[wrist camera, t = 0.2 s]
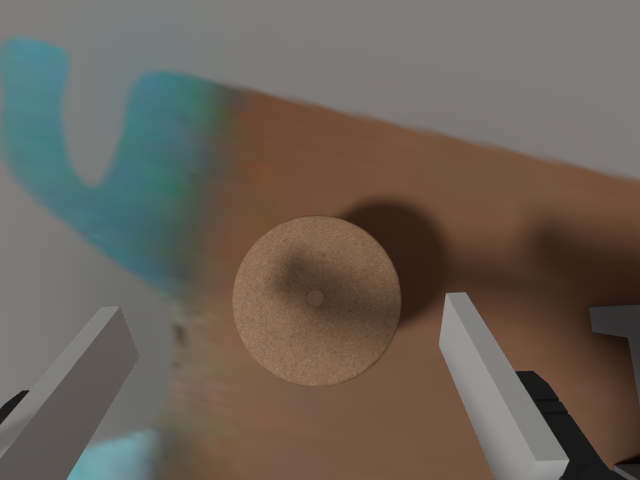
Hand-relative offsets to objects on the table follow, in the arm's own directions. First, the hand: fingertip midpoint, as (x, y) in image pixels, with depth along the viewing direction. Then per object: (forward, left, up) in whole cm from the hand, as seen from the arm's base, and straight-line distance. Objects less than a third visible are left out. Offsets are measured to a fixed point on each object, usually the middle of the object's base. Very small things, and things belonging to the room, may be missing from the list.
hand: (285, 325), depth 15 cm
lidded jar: (+1, -1, -16) cm, 16 cm away
